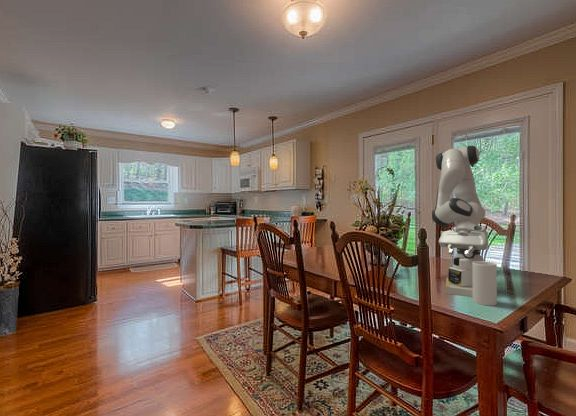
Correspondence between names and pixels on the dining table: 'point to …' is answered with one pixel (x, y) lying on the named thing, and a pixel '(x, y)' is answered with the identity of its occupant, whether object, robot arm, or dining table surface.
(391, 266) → the candy bar box
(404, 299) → the dining table surface
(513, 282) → the dining table surface
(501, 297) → the dining table surface
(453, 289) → the dock
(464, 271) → the medicine bottle
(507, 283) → the dining table surface
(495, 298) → the cup
